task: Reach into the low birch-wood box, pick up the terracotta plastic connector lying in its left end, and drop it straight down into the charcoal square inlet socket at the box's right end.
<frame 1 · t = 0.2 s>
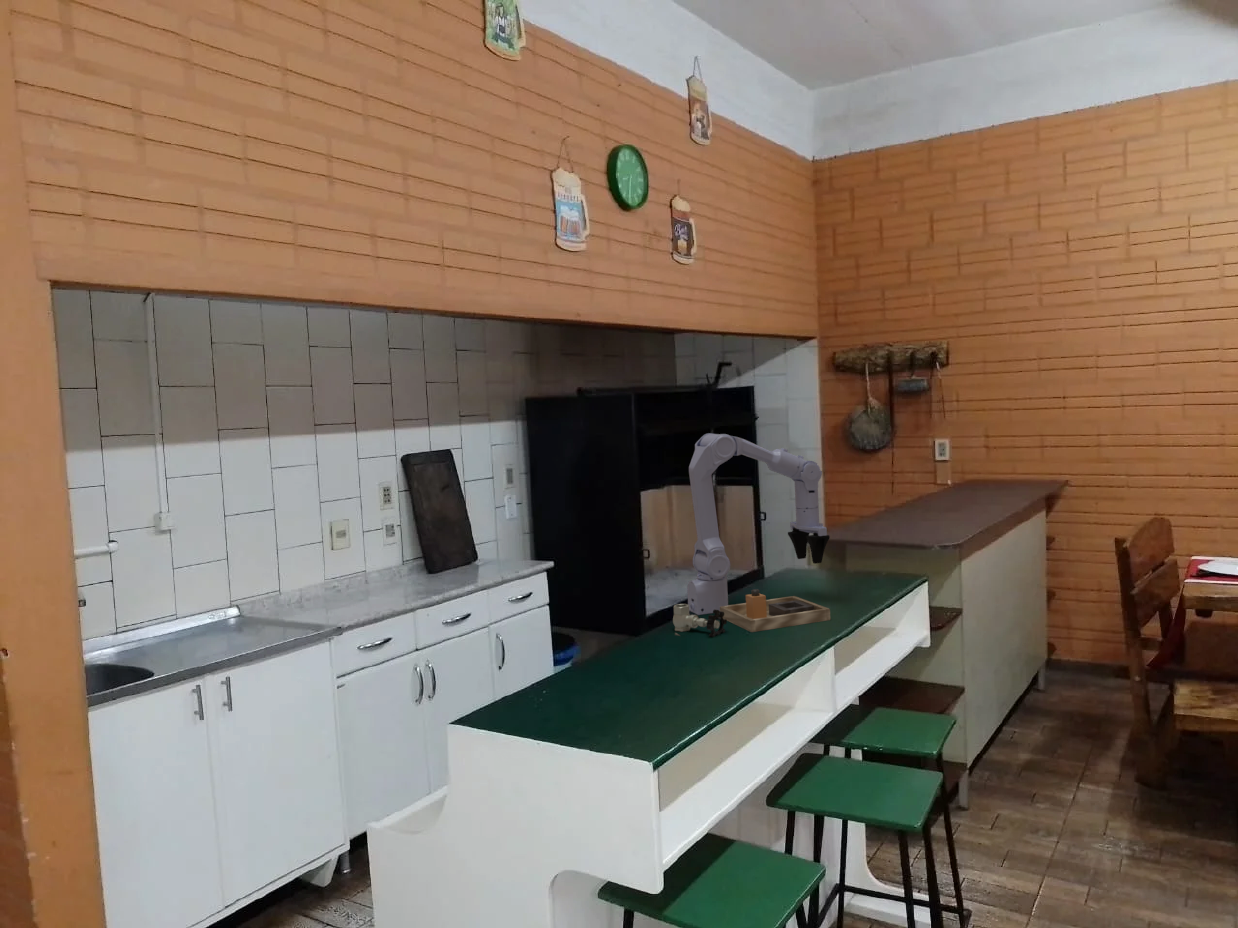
hand: (809, 560, 235), 10 cm above the counter, fingers open, 7 cm apart
walled box: (774, 622, 215), on the counter
connector: (756, 620, 214), point 1 cm above the counter, touching walled box
valve: (697, 637, 208), on the counter
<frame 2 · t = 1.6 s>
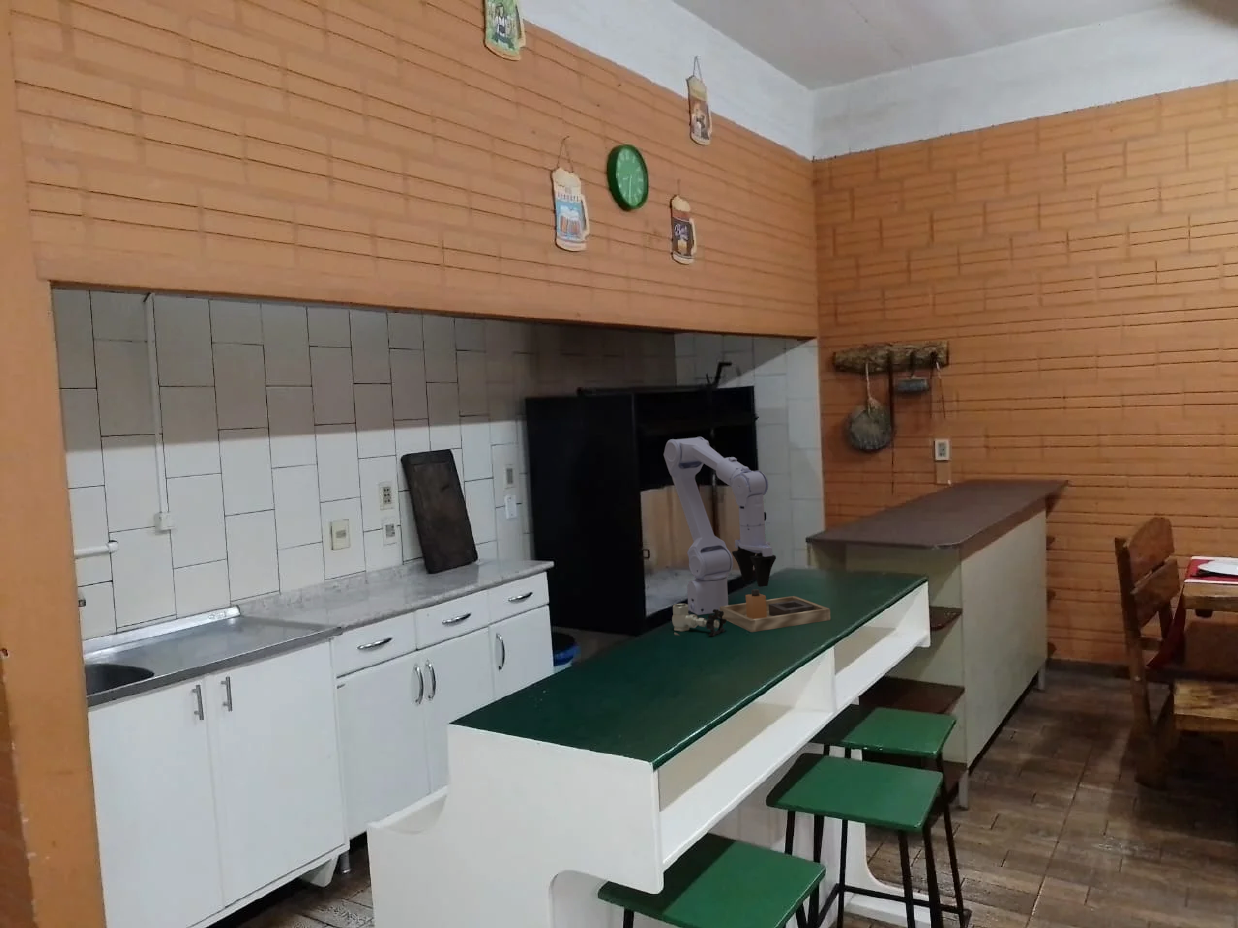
hand: (755, 583, 213), 10 cm above the counter, fingers open, 7 cm apart
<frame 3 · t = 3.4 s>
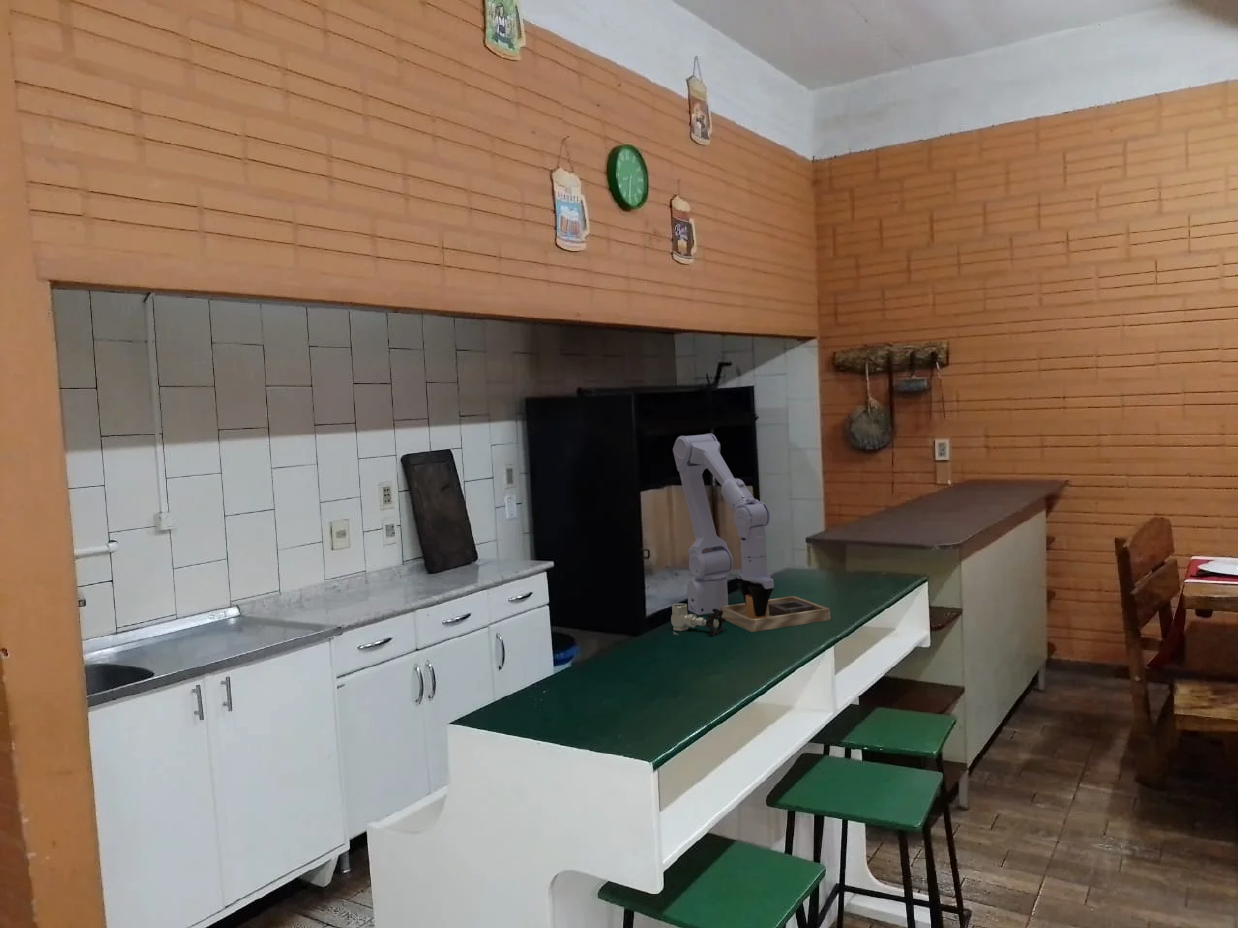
hand: (756, 614, 214), 3 cm above the counter, fingers closed on connector, 3 cm apart
connector: (756, 620, 214), point 1 cm above the counter, touching gripper, walled box
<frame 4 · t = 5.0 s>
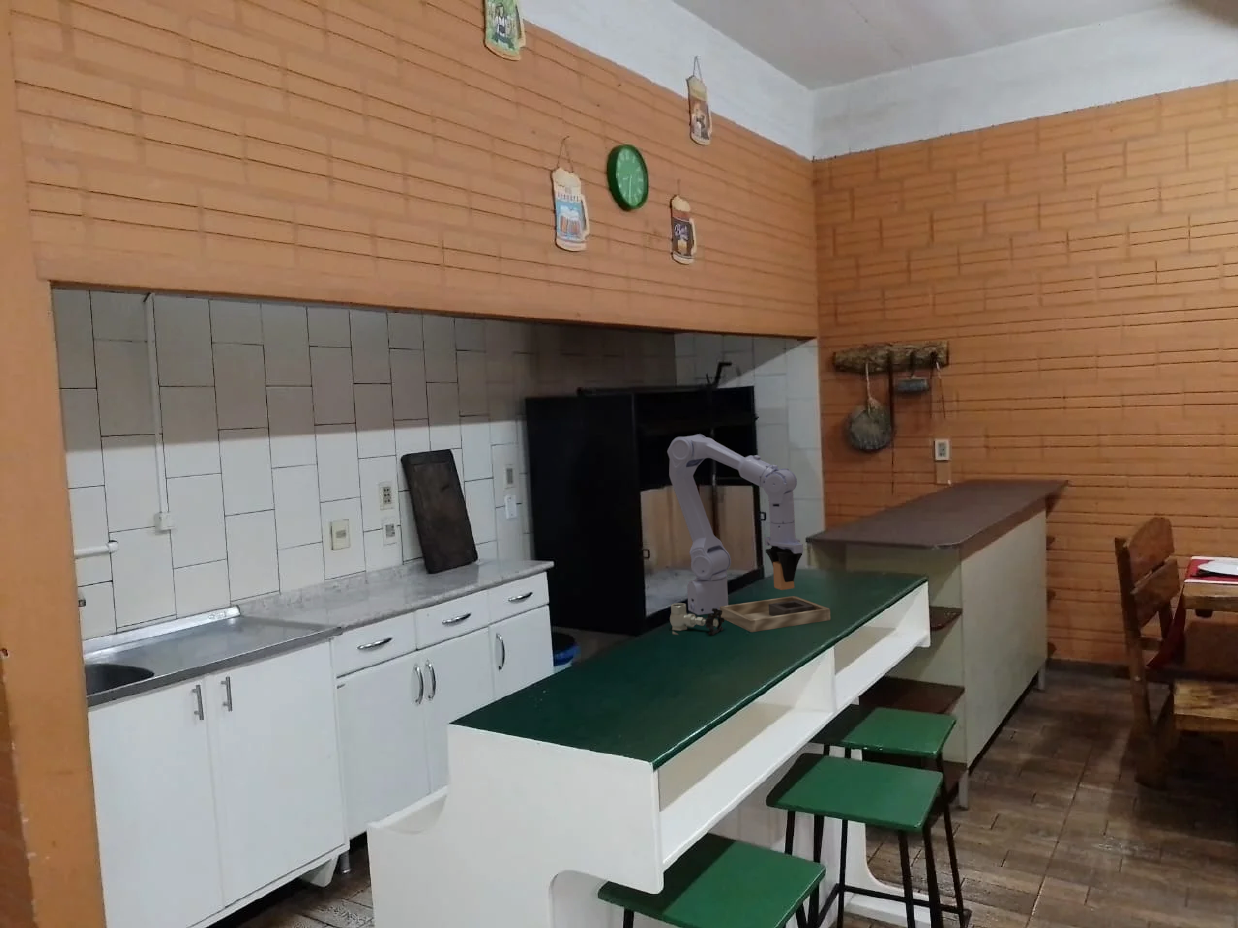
hand: (785, 579, 216), 10 cm above the counter, fingers closed on connector, 3 cm apart
connector: (784, 587, 216), point 8 cm above the counter, touching gripper
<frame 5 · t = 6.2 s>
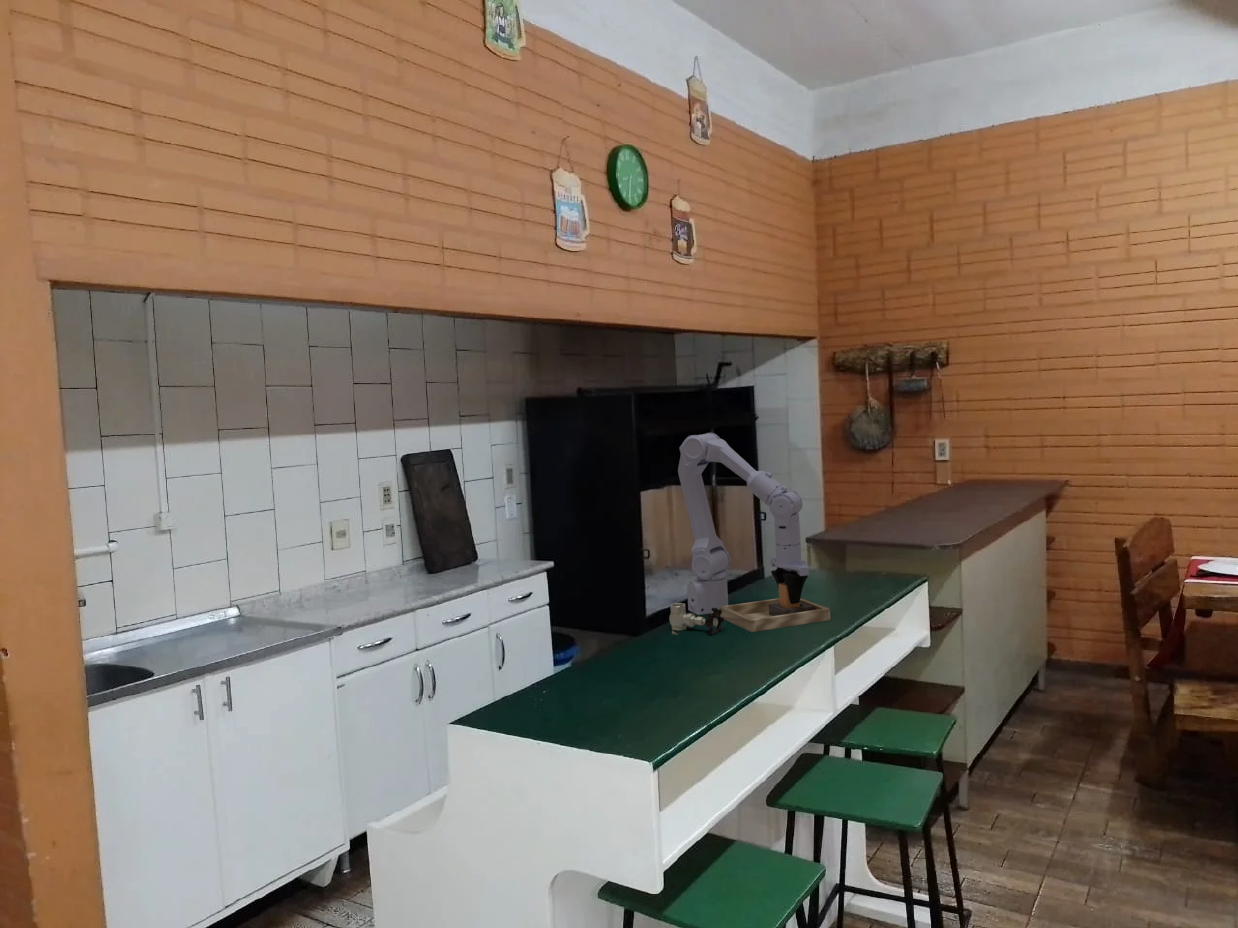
hand: (790, 601, 216), 4 cm above the counter, fingers closed on connector, 3 cm apart
connector: (789, 609, 216), point 3 cm above the counter, touching gripper
when the fingers open (4 cm above the counter, at t = 6.8 s): connector drops 2 cm, resting on walled box.
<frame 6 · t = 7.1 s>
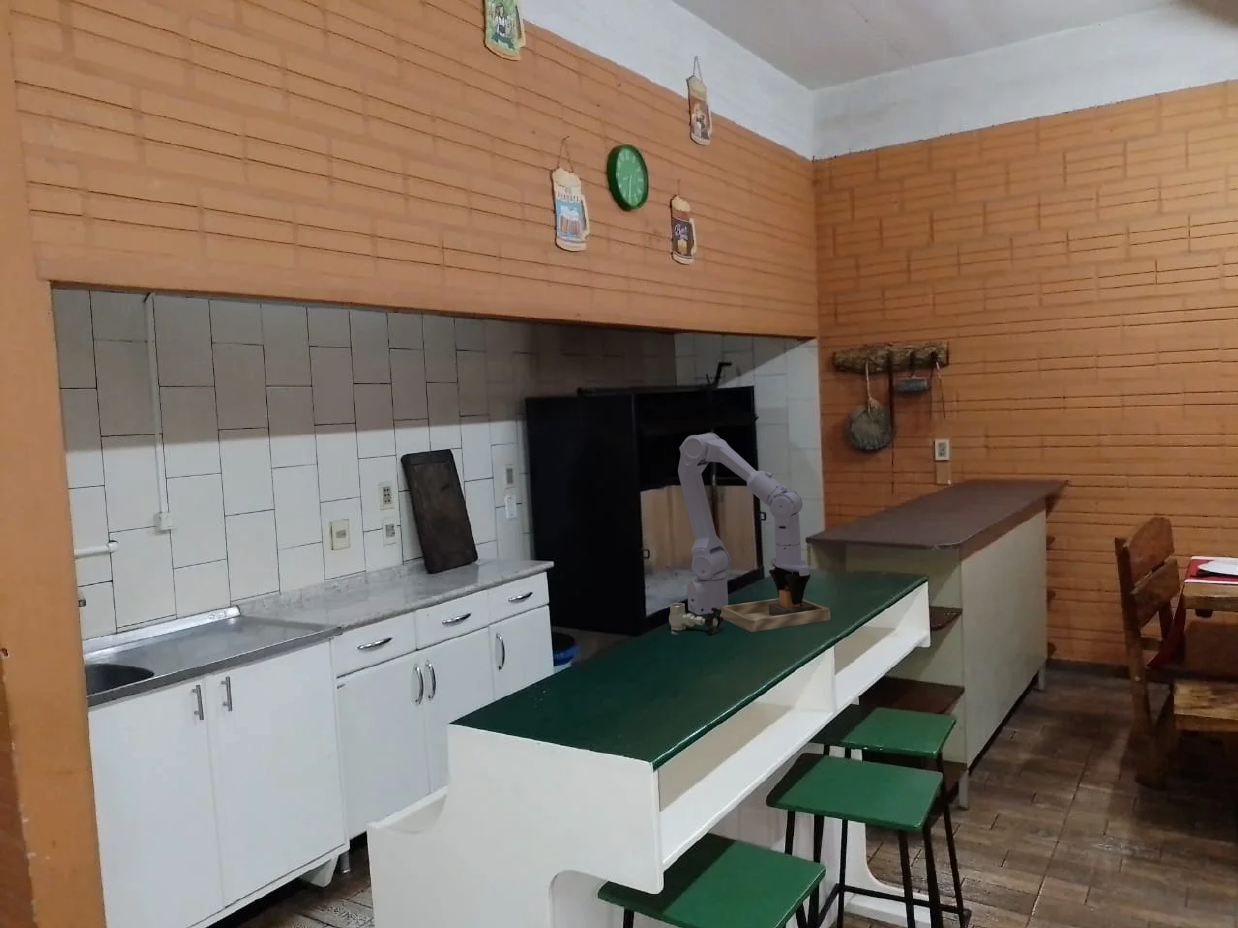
hand: (790, 601, 216), 4 cm above the counter, fingers open, 5 cm apart
connector: (790, 615, 217), point 1 cm above the counter, touching walled box
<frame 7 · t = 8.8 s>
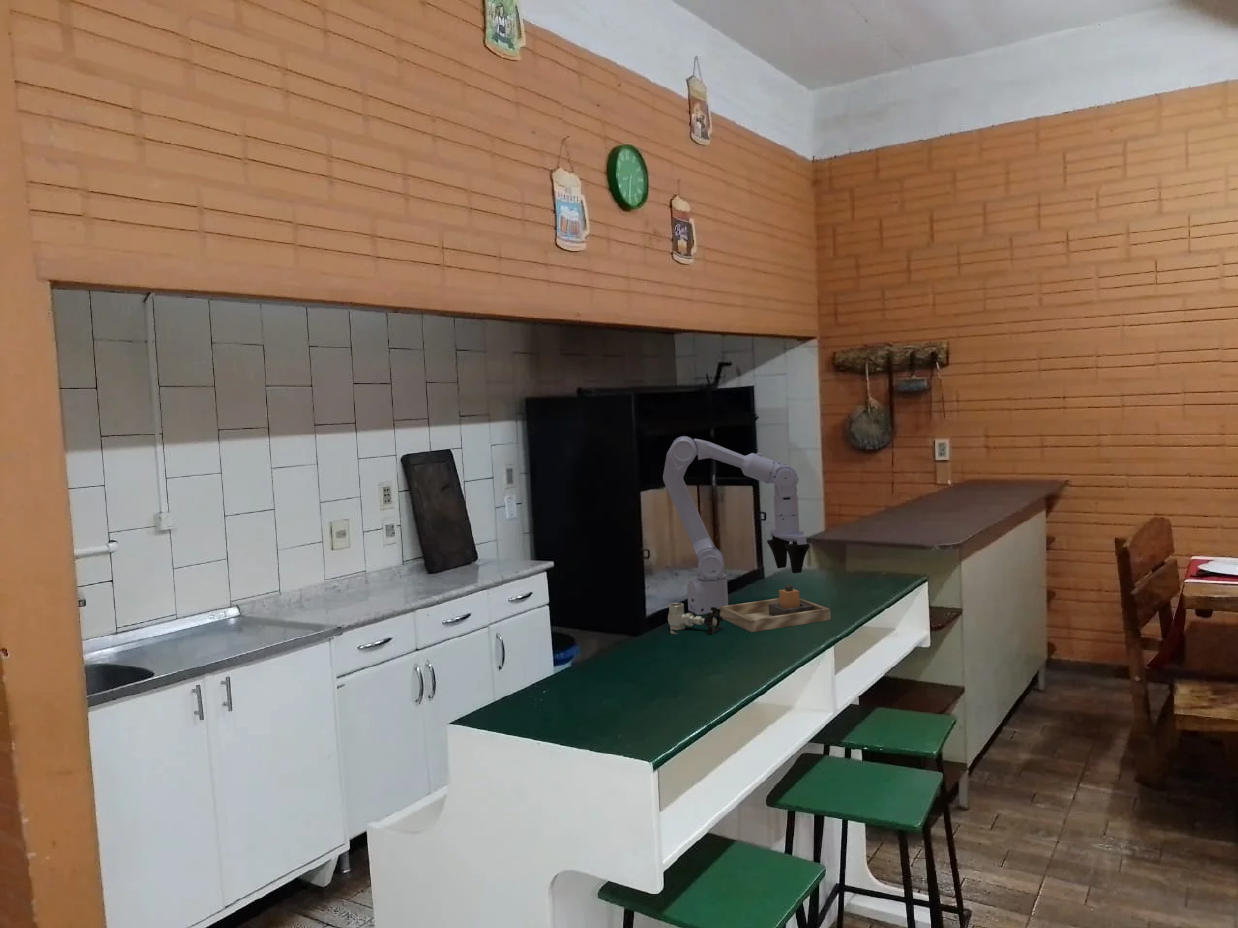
hand: (789, 570, 225), 10 cm above the counter, fingers open, 7 cm apart
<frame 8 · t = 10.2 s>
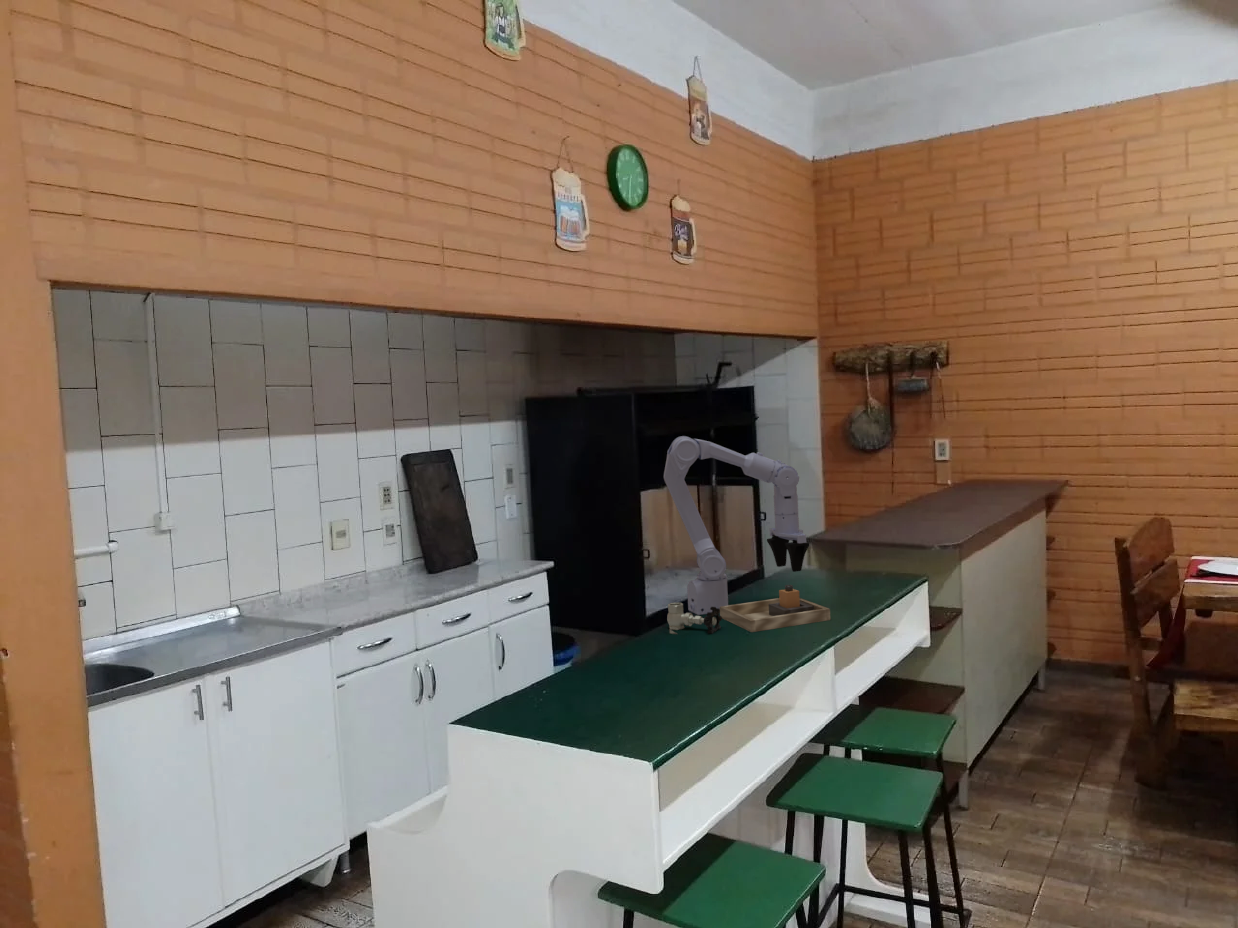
hand: (789, 568, 227), 10 cm above the counter, fingers open, 7 cm apart
at the end: connector 0.3 cm from the target spot on the walled box, point 1.0 cm above the walled box's base; connector tilted 0°; the gripper is holding nothing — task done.
